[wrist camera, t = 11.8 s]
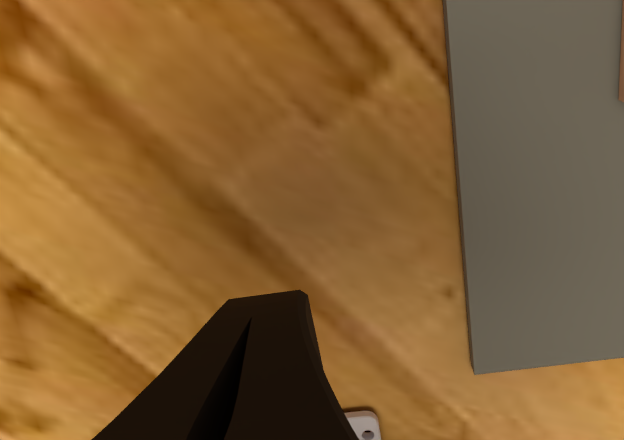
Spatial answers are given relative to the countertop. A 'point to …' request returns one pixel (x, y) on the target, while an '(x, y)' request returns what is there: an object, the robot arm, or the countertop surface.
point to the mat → (539, 178)
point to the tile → (622, 61)
